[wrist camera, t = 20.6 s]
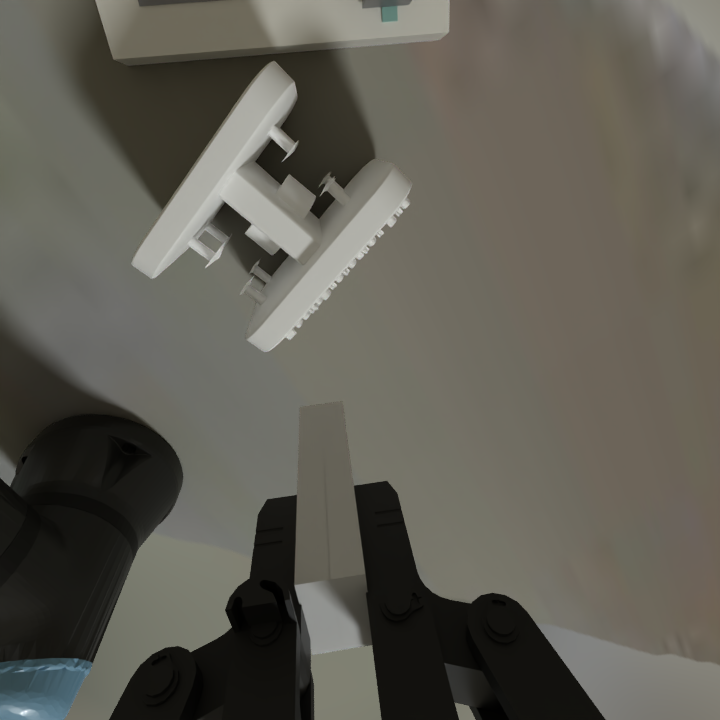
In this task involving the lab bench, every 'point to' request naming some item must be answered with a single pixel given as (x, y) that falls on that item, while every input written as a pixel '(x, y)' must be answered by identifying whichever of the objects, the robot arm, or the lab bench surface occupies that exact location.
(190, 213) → the cable organizer
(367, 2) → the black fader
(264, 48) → the mixing board
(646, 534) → the lab bench surface
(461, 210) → the lab bench surface
